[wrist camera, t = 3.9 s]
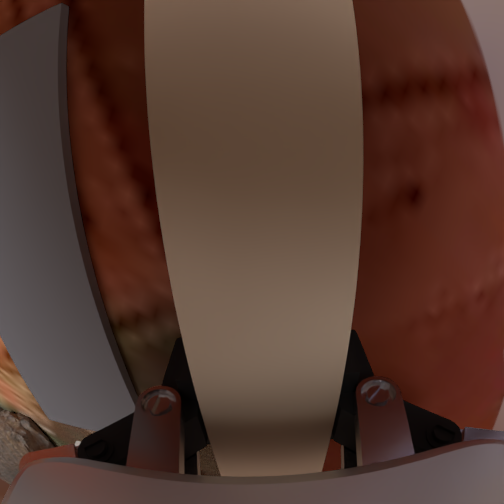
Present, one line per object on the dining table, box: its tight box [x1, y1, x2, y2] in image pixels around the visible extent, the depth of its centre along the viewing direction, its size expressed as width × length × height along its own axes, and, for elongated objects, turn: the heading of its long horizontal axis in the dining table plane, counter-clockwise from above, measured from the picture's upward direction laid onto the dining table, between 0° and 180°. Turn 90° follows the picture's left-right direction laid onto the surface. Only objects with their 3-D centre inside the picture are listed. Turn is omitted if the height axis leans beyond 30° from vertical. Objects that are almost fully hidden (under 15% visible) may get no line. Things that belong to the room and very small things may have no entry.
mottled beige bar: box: [144, 0, 363, 477], centre depth 10 cm, size 20×4×5 cm, turn 3°
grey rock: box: [0, 407, 55, 485], centre depth 18 cm, size 14×5×20 cm
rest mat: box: [0, 3, 138, 431], centre depth 11 cm, size 22×8×1 cm, turn 3°
